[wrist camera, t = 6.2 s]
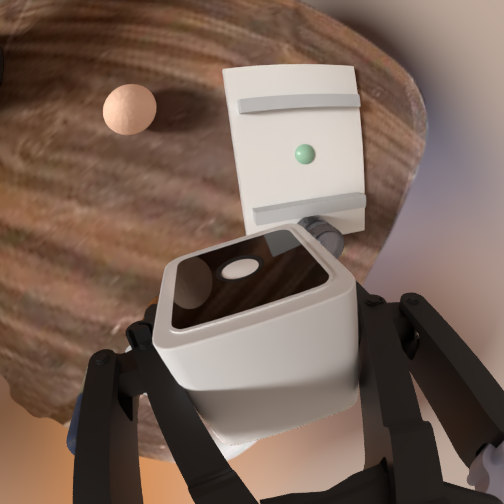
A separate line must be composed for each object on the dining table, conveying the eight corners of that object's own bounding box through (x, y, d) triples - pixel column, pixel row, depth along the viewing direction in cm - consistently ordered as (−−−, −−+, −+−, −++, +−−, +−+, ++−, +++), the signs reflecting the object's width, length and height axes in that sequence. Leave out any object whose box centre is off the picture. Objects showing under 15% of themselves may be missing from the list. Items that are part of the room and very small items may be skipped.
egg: (107, 113, 27) (80, 108, 19) (141, 81, 26) (124, 65, 19) (134, 144, 29) (115, 147, 21) (170, 112, 28) (161, 105, 21)
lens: (292, 218, 35) (309, 233, 30) (325, 211, 35) (346, 225, 30) (296, 250, 37) (311, 270, 32) (327, 243, 37) (347, 261, 32)
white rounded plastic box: (275, 201, 17) (365, 284, 8) (297, 298, 20) (363, 411, 11) (171, 233, 16) (147, 353, 7) (209, 326, 19) (226, 456, 10)
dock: (222, 71, 27) (224, 65, 25) (349, 67, 29) (361, 63, 27) (248, 249, 37) (252, 259, 34) (360, 227, 38) (372, 235, 36)
